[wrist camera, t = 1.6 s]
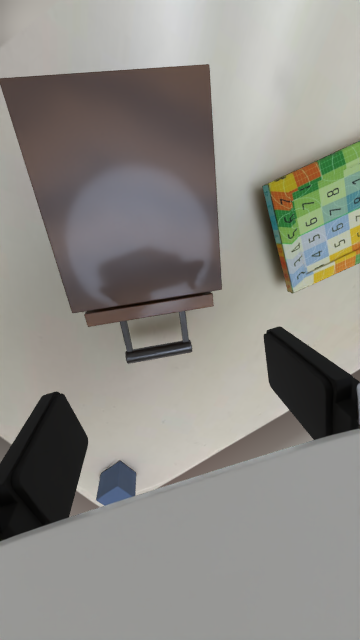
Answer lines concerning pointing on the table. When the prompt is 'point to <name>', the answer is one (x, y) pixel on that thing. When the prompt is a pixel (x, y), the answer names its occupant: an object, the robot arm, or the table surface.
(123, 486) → the block
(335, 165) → the puzzle game
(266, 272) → the table surface
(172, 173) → the cabinet
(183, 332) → the drawer
